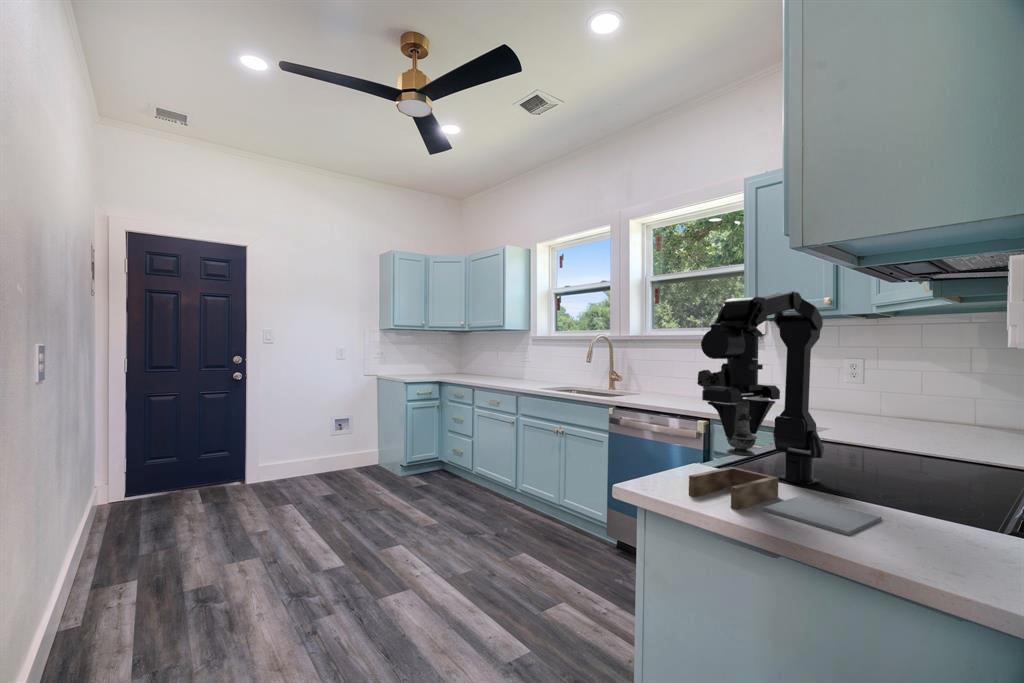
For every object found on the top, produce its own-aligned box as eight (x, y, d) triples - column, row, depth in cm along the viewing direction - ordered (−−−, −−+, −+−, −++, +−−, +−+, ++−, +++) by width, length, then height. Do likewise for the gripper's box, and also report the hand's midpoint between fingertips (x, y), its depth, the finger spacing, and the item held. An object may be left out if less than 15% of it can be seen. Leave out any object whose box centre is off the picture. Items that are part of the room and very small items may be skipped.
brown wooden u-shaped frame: (730, 484, 107) (730, 466, 107) (778, 497, 98) (778, 477, 98) (688, 494, 98) (689, 475, 98) (736, 509, 90) (737, 488, 90)
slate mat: (799, 498, 98) (799, 495, 98) (881, 519, 86) (881, 516, 86) (762, 510, 90) (763, 507, 90) (848, 535, 78) (848, 531, 78)
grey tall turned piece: (745, 450, 100) (746, 393, 101) (763, 456, 95) (764, 396, 95) (719, 450, 100) (720, 392, 100) (735, 456, 94) (736, 396, 94)
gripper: (731, 357, 109) (730, 426, 109) (679, 357, 99) (678, 433, 99) (781, 359, 100) (780, 434, 100) (730, 359, 90) (728, 442, 90)
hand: (741, 435), depth 97 cm, fingers closed on grey tall turned piece, 8 cm apart
